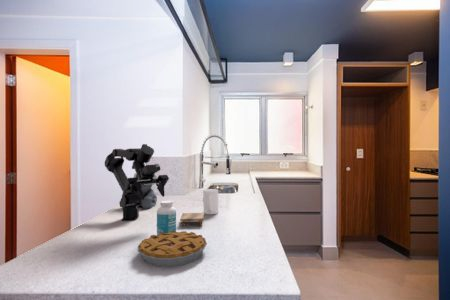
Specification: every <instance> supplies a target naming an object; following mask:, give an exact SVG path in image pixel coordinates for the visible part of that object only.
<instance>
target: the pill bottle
mask: <svg viewBox="0 0 450 300" xmlns="http://www.w3.org/2000/svg"><path fill="white" fill-rule="evenodd" d="M159 203H160V204H159V205H160V207H158V208H157V209H156V235H159V234H160V233H170V232H171V231H176V232H177V208H176V207H175V206H173V200H161V201H160V202H159Z"/></svg>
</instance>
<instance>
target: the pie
mask: <svg viewBox="0 0 450 300" xmlns="http://www.w3.org/2000/svg"><path fill="white" fill-rule="evenodd" d="M207 245H208V243H207V241H206V237H203V235H202V234H196V233H195V232H192V231H190V232H187V231H185V230H183V231H177V230H176V231H171V232H170V233H160V234H159V235H157V234H152V235H150V237H148V238H144V239H142V240H141V242H139V244H138V245H137V252H138V253H139V254H140V255H141V258H142V259H143V260H144V261H145V262H147V263H148V264H150V265H154V266H157V267H163V266H164V268H173V267H178V266H182V265H186V264H189V263H191V262H194V261H195V260H196V259H198V258H200V257H201V255H202V254H203V251H204V250H205V249H206V247H207Z"/></svg>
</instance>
